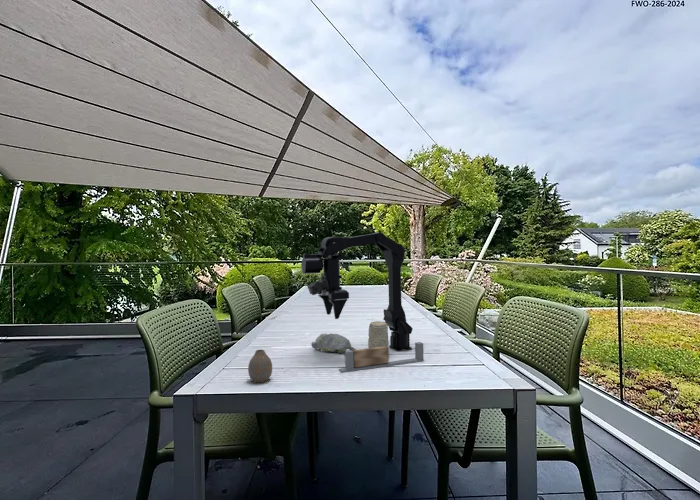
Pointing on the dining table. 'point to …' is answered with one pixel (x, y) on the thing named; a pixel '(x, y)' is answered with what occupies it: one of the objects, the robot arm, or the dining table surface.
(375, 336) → the carving
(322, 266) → the robot arm
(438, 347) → the dining table surface
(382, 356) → the brown boxy piece
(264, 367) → the vase
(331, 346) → the rock
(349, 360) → the grey bracket bar
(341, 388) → the dining table surface
